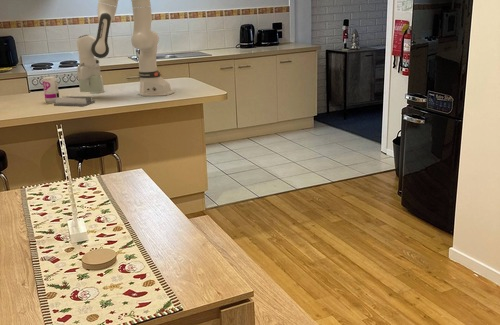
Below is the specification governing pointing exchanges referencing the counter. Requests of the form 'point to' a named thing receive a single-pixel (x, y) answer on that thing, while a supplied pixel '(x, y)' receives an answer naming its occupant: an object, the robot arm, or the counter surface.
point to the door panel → (91, 84)
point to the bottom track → (74, 101)
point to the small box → (102, 86)
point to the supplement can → (50, 89)
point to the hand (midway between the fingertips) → (90, 84)
